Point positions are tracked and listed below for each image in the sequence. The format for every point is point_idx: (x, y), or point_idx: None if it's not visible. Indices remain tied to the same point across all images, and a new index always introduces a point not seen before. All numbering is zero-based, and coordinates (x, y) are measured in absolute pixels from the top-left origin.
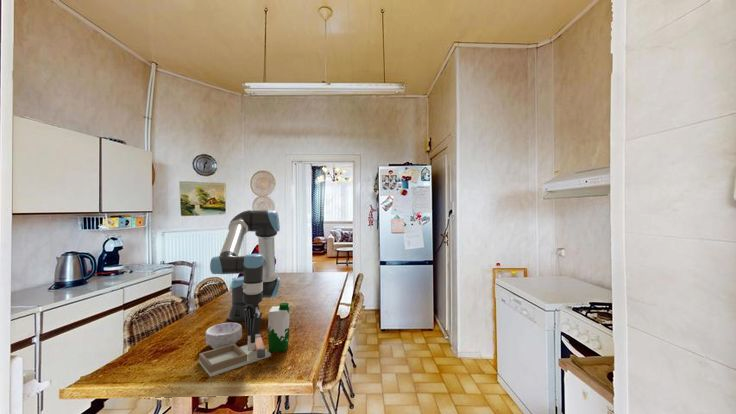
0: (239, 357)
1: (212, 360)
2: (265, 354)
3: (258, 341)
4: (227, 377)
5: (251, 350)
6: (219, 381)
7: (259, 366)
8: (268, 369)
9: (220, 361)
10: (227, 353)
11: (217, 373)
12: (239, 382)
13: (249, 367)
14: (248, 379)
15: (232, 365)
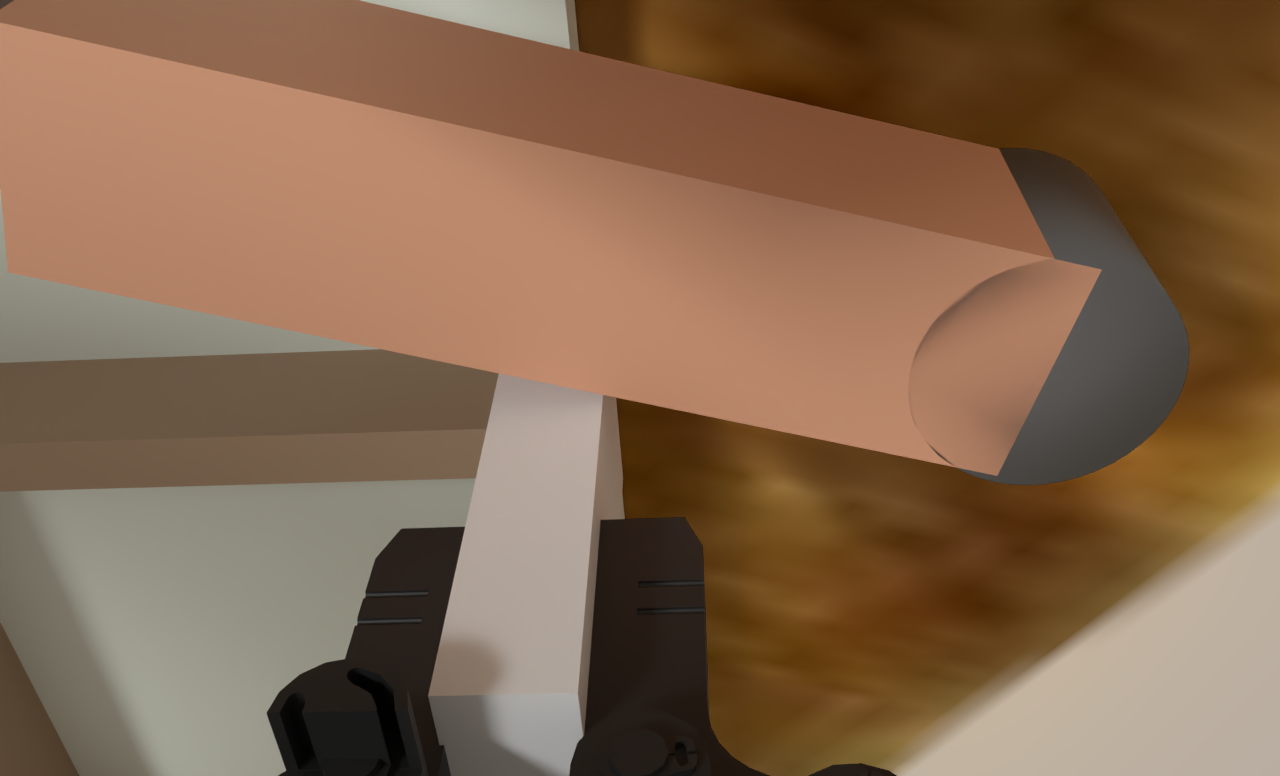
0: None
1: (197, 732)
2: (1082, 181)
3: (402, 249)
4: (848, 658)
5: (616, 418)
6: (877, 746)
7: None
8: (1190, 48)
9: (308, 668)
10: (2, 516)
11: None
12: (1154, 588)
13: None
14: (1196, 470)
15: None
